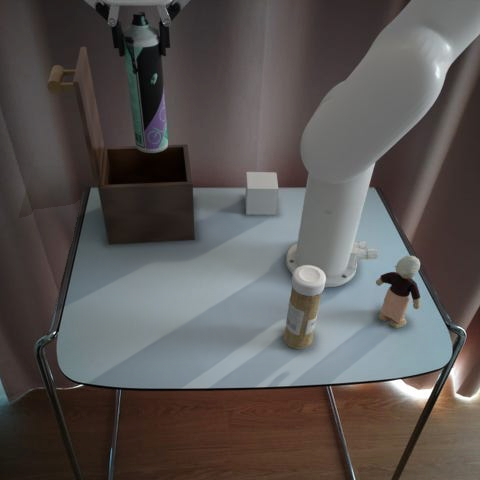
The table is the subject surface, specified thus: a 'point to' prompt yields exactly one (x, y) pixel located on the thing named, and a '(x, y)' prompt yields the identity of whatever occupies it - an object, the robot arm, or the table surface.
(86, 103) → the lid
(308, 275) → the sprinkles bottle
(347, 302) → the table surface
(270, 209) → the white cube
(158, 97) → the spray can
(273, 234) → the table surface
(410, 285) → the grandmother figurine
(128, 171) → the chest
